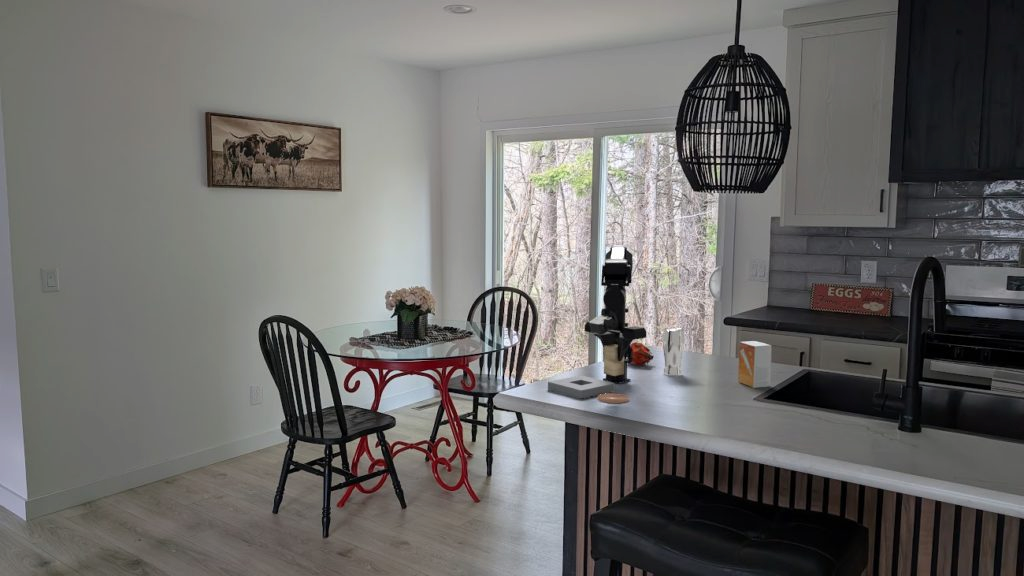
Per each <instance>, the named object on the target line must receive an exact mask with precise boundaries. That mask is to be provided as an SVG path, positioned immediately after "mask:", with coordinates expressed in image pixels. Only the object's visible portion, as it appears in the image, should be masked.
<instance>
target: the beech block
mask: <svg viewBox="0 0 1024 576" xmlns="http://www.w3.org/2000/svg"><path fill="white" fill-rule="evenodd" d="M603 374H604V375H606V374H608V375H612V376H617V375H622V374H624V357H623V359H622V361H618V345H615V344H612V345H606V346H604V362H603Z"/></svg>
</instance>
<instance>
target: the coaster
mask: <svg viewBox="0 0 1024 576" xmlns="http://www.w3.org/2000/svg"><path fill="white" fill-rule="evenodd" d="M597 400H598V401H599V400H600V401H599V402H602V401H603V402H602V403H607V404H625V403H628V402H629V401H630V396H628V395H626V394H622V393H615V392H610V393H606V394H601V395H597Z"/></svg>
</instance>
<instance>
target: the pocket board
mask: <svg viewBox="0 0 1024 576" xmlns="http://www.w3.org/2000/svg"><path fill="white" fill-rule="evenodd" d="M615 384H616V383H613V382H608V381H604V380H603V379H599V378H594V377H589V376H585V375H576V376H570V377H564V378H561V379H553V380H550V381H549V380H548V382H547V390H548V391H551V392H555V393H558V394H561V395H565V396H567V397H572V398H576V399H579V398H581V399H580V400H583V399H582V398H584V399H587V398H586V397H588V398H591V397H590V396H593V397H596V396H595V395H597V396H599V395H600V394H605V393H606V394H607V393H615Z"/></svg>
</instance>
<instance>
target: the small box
mask: <svg viewBox="0 0 1024 576" xmlns="http://www.w3.org/2000/svg"><path fill="white" fill-rule="evenodd" d="M772 351H773V350H772V345H771V344H767V343H765V342H761V341H756V340H750V341H747V340H746V341H739V349H738V353H739V354H738V373H737V374H738V375H737V381H738V383H740V384H743V385H746V386H748V387H750V388H753V389H756V388H768V387H770V386H771V374H772V373H771V372H772Z"/></svg>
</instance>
